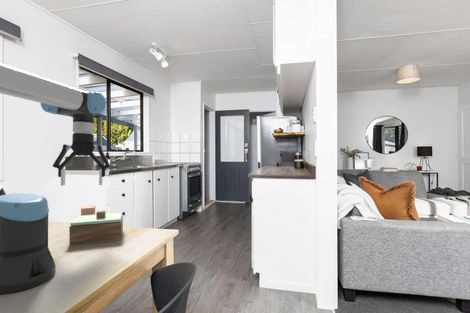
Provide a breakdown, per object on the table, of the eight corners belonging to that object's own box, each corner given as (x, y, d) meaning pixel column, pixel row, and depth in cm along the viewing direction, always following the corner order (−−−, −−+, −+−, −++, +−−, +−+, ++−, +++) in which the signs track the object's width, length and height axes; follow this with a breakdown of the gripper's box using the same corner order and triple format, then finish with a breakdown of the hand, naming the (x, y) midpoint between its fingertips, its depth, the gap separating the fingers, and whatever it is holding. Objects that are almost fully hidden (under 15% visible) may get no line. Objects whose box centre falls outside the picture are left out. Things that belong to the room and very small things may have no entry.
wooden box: (121, 239, 103) (121, 222, 103) (69, 245, 96) (69, 226, 96) (122, 230, 114) (122, 215, 114) (76, 235, 108) (76, 218, 107)
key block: (93, 229, 116) (93, 207, 116) (80, 230, 114) (80, 208, 114) (95, 226, 120) (95, 205, 120) (83, 227, 119) (83, 206, 118)
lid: (120, 221, 103) (120, 213, 103) (70, 225, 97) (70, 216, 97) (122, 215, 114) (122, 207, 114) (77, 218, 107) (77, 210, 107)
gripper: (117, 135, 112) (116, 183, 112) (51, 132, 104) (49, 184, 104) (115, 134, 105) (114, 185, 105) (43, 130, 97) (42, 186, 97)
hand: (82, 185), depth 104 cm, fingers open, 13 cm apart
